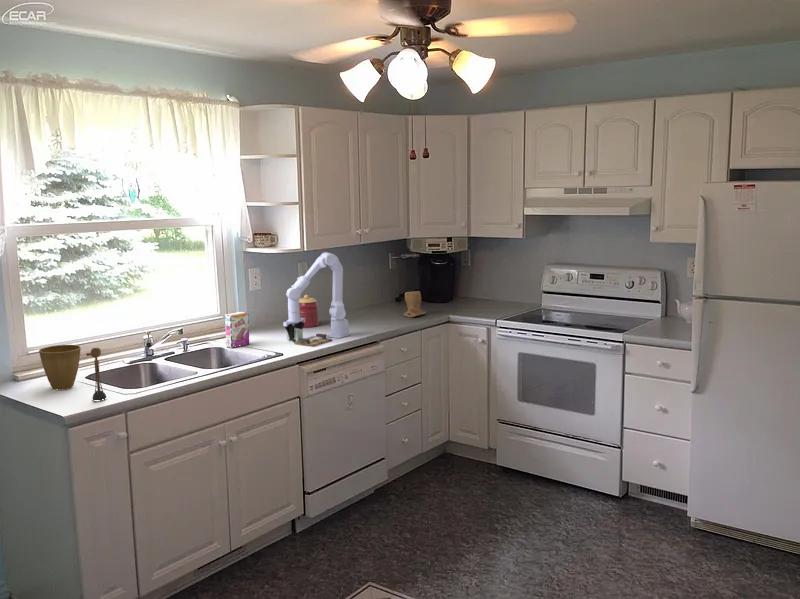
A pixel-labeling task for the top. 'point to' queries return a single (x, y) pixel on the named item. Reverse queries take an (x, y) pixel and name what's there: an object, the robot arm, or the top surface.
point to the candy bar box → (237, 329)
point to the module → (296, 334)
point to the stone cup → (413, 304)
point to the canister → (309, 311)
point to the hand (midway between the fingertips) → (294, 337)
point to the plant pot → (60, 364)
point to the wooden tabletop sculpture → (97, 374)
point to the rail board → (313, 340)
